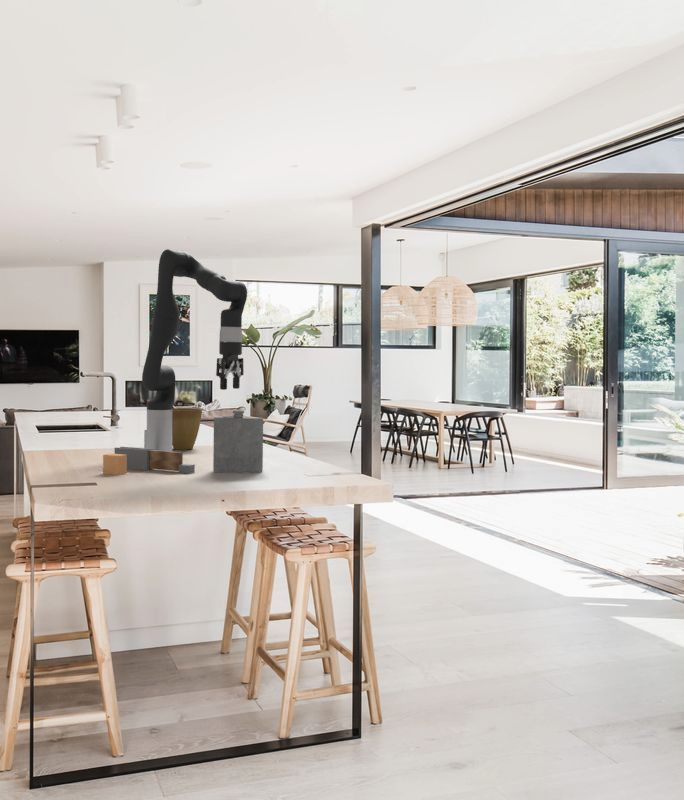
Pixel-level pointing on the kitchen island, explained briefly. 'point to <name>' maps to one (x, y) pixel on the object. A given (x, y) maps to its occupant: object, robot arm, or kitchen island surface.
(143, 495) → the kitchen island surface
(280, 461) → the kitchen island surface
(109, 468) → the orange block
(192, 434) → the plant pot
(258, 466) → the hip flask
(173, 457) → the gate
